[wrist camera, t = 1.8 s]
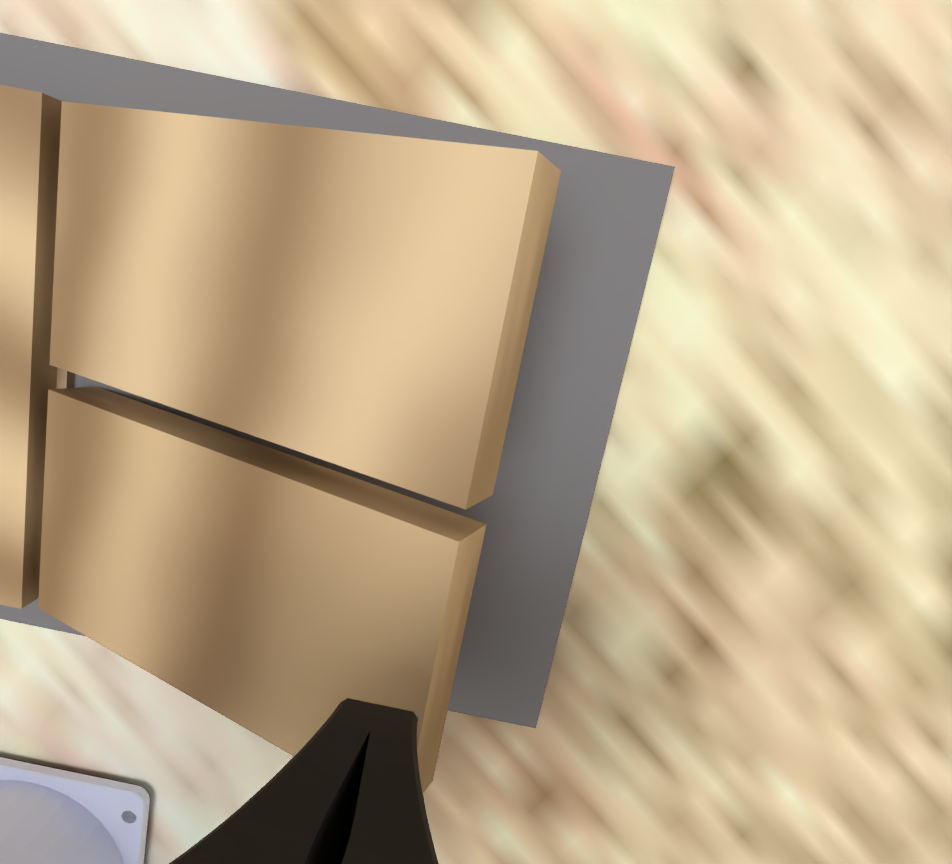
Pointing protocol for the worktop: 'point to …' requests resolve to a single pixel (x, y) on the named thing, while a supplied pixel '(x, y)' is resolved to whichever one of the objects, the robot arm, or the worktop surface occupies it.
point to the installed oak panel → (26, 328)
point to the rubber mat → (540, 374)
